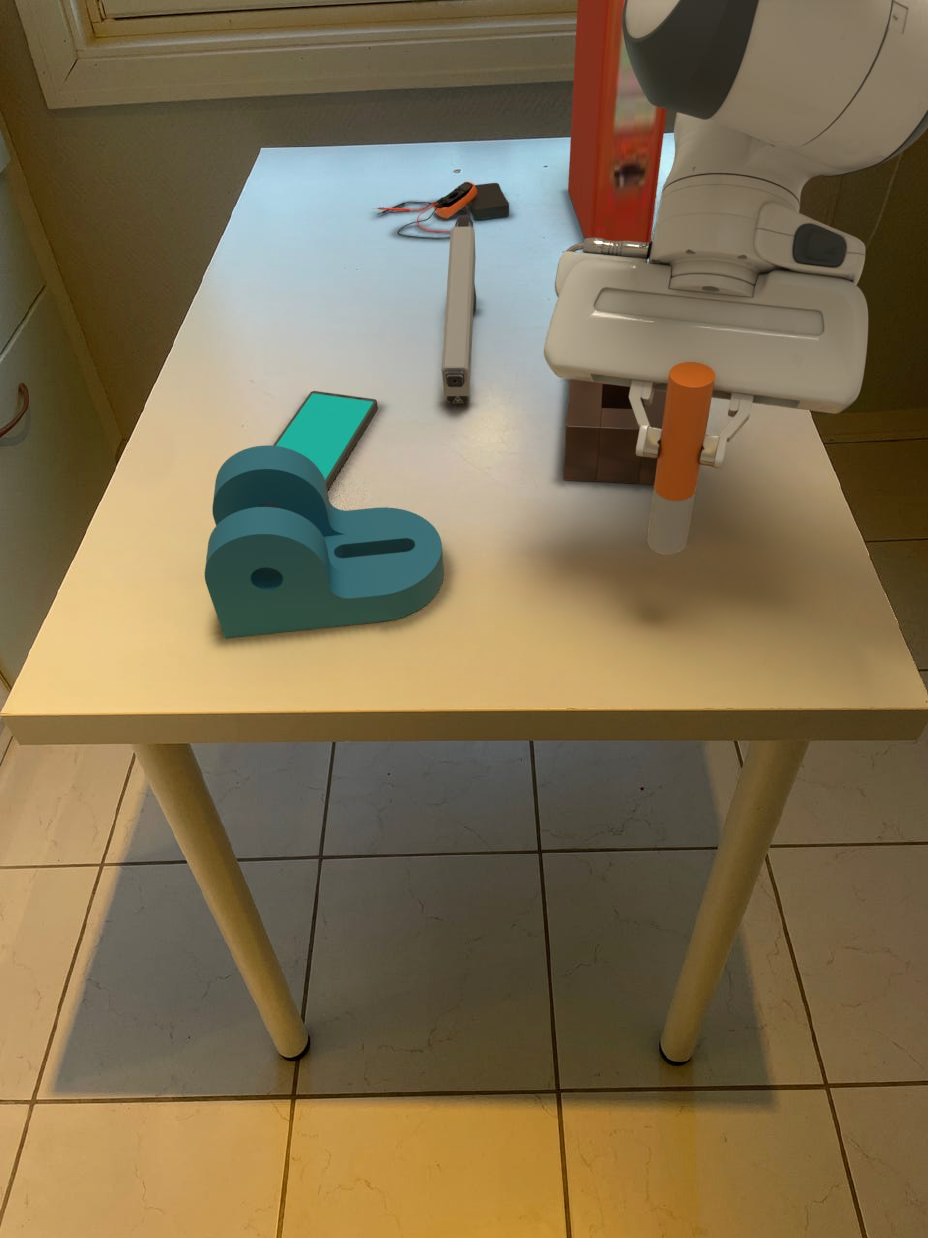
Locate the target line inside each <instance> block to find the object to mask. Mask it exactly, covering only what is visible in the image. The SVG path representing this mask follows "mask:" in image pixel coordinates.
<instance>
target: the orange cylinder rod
mask: <svg viewBox="0 0 928 1238" xmlns="http://www.w3.org/2000/svg"><path fill="white" fill-rule="evenodd" d="M714 382H715V372H714V371H713V370H712V369H711V368H710V367H709V366H707V365H704V364H702V363H697V362H684V363H680V364H677V365H675V366H673V367H672V368H671V370H670V372H669V378H668V385H667V393H666V401H665V408H664V416H663V423H662V431H661V440H660V446H659V447H660V448H659V455H658V461H657V468H656V476H655V483H654V484H653V490H652V491H653V492H652V498H651V499H652V500H651V506H650V515H649V522H648V528H647V537H646V542H647V545H648V546H649V548H650V549H651V550H652V551H654V552H655V553H658V554H661V555H666V556H667V555H675V554H679V553H681V552H682V551H683V550H684V549H685V548H686V546H687V542H688V537H689V536H688V535H689V531H690V524H691V518H692V514H693V513H692V512H693V507H694V501H695V500H694V499H695V495H696V489H697V485H698V479H699V473H700V468H701V465H699V464H700V463H699V462H700V457H701V452H702V451H703V441H704V438H705V435H706V433H707V429H708V428H707V427H708V423H709V415H710V411H711V405H712V399H713V398H712V394H713V388H714Z"/></svg>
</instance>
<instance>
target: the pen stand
mask: <svg viewBox="0 0 928 1238" xmlns="http://www.w3.org/2000/svg"><path fill="white" fill-rule="evenodd" d="M629 393H630V387H627V386H619V385H612V384H604V383H597V382H589V381H581V380H574V379H569V387H568V399H567V400H568V401H567V409H566V410H567V411H566V422H565V436H564V437H565V439H564V459H563V475H562V476H563V477H562V478H563V479H562V480H563V481H578V482H579V481H580V482H601V483H602V482H603V483H619V484H620V483H621V484H641V485H654V483H655V476H656V468H657V461H658V459H657V458H649V457H642V456H637V455H636V446H637V441H638V435H639V430H640V428H639V425H638V423H637V420H636V417H635V414H634V411H633V408H632V406H631V403H630V400H629ZM666 393H667V392H665V391H658V390H654V394H653V399H652V404H651V405H650V406H648V405H644V404H643V407H644V410H645V413H646V416H647V419H648V422H649V424H650V427H652V428H659V429H662V423H663V416H664V408H665V401H666ZM659 446H660V445H659Z"/></svg>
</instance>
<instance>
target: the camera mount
mask: <svg viewBox="0 0 928 1238" xmlns="http://www.w3.org/2000/svg"><path fill="white" fill-rule="evenodd" d="M212 517H213V520H214V521H213V522H214V524H215V527H214V528H213V530H212V531H211V533H210V535H209V538H208V543H207V551H206V558H205V569H204V581H205V585H206V588H207V591H208V593H209V596H210V599H211V603H212V605H213V608H214V611H215V613H216V616H217V617H216V618H217V619H218V620H217V621H218V622H219V625H220V628H221V631H222V633H223V637H224V639H231V638H240V637H250V636H258V635H259V636H260V635H268V634H269V635H270V634H276V633H277V634H278V633H286V632H287V633H288V632H297V631H306V630H316V629H324V628H325V629H326V628H334V627H344V626H353V625H363V624H372V623H383V622H390V621H395V620H399V619H403V618H404V617H408V616H410V615H412V614H414V613H416V612H418V611H419V610H421V609H422V608H424V607H425V606H427V605H428V604H429V603H430V602H431V601H432V600H433V599H434V598H435V596H436V595H437V594H438V593H439V591H440V589H441V587H442V584H443V581H444V577H445V569H444V568H445V567H444V555H443V554H444V553H443V544H442V543H443V542H442V538H441V536H440V533H439V532H438V530H437V528H436V527H435V526H434V525H433V524H432V523H431V522H430V521H429V520H427V519H426V518H424V517H423V516H421V515H419V514H417V513H415V512H413V511H409V510H407V509H401V508H396V507H385V506H384V507H383V506H381V507H369V508H359V509H358V508H357V509H349V510H343V509H339V508H337V507H335V506H334V505H333V504H332V503H331V502H330V499H329V493H328V490H327V488H326V483H325V479H324V477H323V475H322V473H321V471H320V470H319V468H318V467H317V466H316V465H315V464H314V463H313V462H312V461H311V460H310V459H308V458H307V457H305V456H304V455H302V454H300V453H298V452H296V451H294V450H291V449H288V448H284V447H279V446H273V445H255V446H251V447H247V448H245V449H242V450H239V451H237V452H236V453H234V454H232V455H230V456H229V457H228V458H227V459H226V461H224V463H222V464H221V467H220V468H219V470H218V471H217V474H216V477H215V484H214V491H213V501H212Z"/></svg>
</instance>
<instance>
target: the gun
mask: <svg viewBox="0 0 928 1238" xmlns="http://www.w3.org/2000/svg"><path fill="white" fill-rule="evenodd" d="M450 231H451V232H450V236H449V237H450V238H449V252H448V265H447V266H448V267H447V281H446V282H447V283H446V296H445V297H446V298H445V312H444V313H445V314H444V328H443V330H444V331H443V343H442V359H441V376H442V377H441V378H442V388H443V389H442V390H443V396H444V397H446V398H445V399H446V402H447V403H449V404H452V405H453V404H467V403H468V402H469V401H470V393H471V392H470V391H471V390H470V389H471V370H472V369H471V368H472V345H473V323H474V322H473V321H474V312H475V311H477V292H476V284H475V283H476V282H475V281H476V280H475V279H476V236H475V235H476V234H475V228H474V221H473V220H472V217H471V215H470V216H469V215H468V214H459V215H458V217H457V219H456V221H455V224H454V226H453V227H452V228H451V229H450Z"/></svg>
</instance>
